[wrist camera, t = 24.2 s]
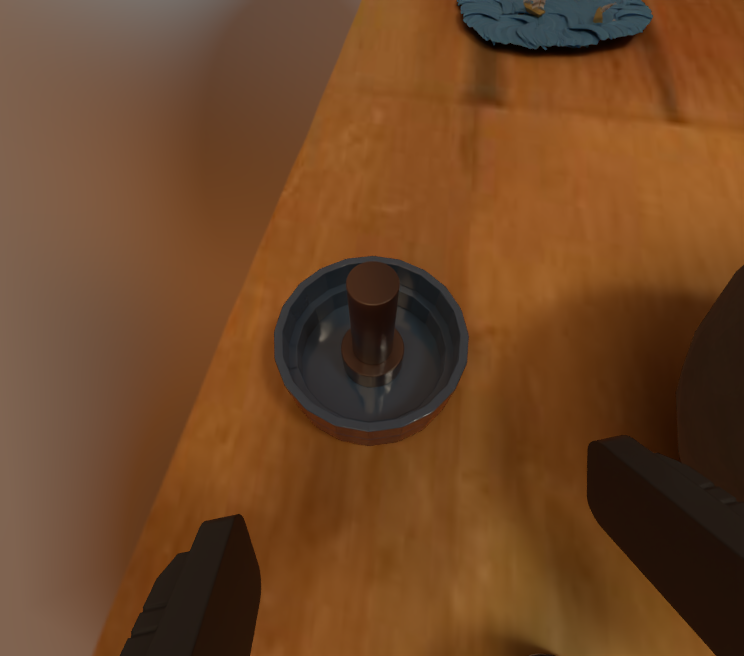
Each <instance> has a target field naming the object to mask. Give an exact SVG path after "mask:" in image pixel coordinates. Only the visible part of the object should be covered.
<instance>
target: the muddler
mask: <svg viewBox="0 0 744 656" xmlns="http://www.w3.org/2000/svg"><path fill="white" fill-rule="evenodd" d="M399 287H400V281H399V277H398V275H397V273H396V272H395V271H394V269H392V268H391V267H390V266H388V265H387V264H384V263H381V262H376V261H369V262H364V263H361V264H359V265H357V266H356V267H354V268H353V269H352V270H351V272H350V273H349V275H348V277H347V280H346V289H347V299H348V308H349V317H350V327H351V328H350V329H349V330H348V331H347V332H346V334H345V335H344V337H343V340H342V343H341V353H342V359H343V364H344V368H345V371H346V373H347V374H348V376H349V377H350V378H351V379H352V380H353V381H354V382H356V383H357V384H359V385H362V386H365V387H380V386H383V385H386V384H388V383H389V382H391V381H392V380H393V379H394V378H395V377H396V376H397V375H398V373H399V371H400V369H401V365H402V360H403V355H404V342H403V339H402V337H401V335H400V333H399V332H398V331H397V330H396V329H395V322H396V313H397V305H398V296H399Z"/></svg>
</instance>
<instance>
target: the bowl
mask: <svg viewBox="0 0 744 656" xmlns="http://www.w3.org/2000/svg"><path fill="white" fill-rule="evenodd" d="M369 261H376V262H381V263H384V264H387V265H388V266H390V267H391V268H392V269H394V271H395V272H396V273H397V275H398V277H399V281H400V287H399V296H398V305H397V313H396V322H395V329H396V330H397V331H398V332H399V333H400V335H401V337H402V339H403V342H404V355H403V360H402V365H401V369H400V371H399V373H398V375H397V376H396V377H395V378H394V379H393V380H392V381H391V382H389V383H388V384H386V385H383V386H380V387H365V386H362V385H359V384H357V383H356V382H354V381H353V380H352V379H351V378H350V377H349V376H348V374H347V373H346V371H345V368H344V364H343V359H342V353H341V343H342V340H343V337H344V335H345V334H346V332H347V331H348V330H349V329H350V328H351V327H350V317H349V308H348V299H347V289H346V280H347V277H348V275H349V273H350V272H351V270H352V269H353V268H354V267H356V266H357V265H359V264H361V263H364V262H369ZM468 340H469V336H468V331H467V328H466V324H465V321H464V317H463V314H462V310H461V308H460V307H459V305H458V304H457V302H456V301H455V300H454V298H453V297H452V295H451V294H450V292H449V291H448V289H447V288H446V287H445V286H444V285H443V284H442V283H440V282H439V281H438V280H436V279H435V278H434V277H433V276H431V275H430V274H429V273H428V272H426V271H425V270H423V269H420V268H418V267H416V266H413V265H411V264H409V263H406V262H404V261H402V260H398V259H391V258H384V257H377V256H368V257H359V258H349V259H345V260H342V261H339V262H337V263H334V264H331V265H329V266H326V267H324V268H321V269H319V270H318V271H317V272H315V273H314V274H313V275H311V276H310V277H308V278H307V279H306V280H304V281H303V282H302V283H300V284H299V285H298V287H297V288H296V289H295V291H294V292H293V293H292V295H291V296H290V297H289V299H288V300H287V301H286V302H285V304H284V305H283V307H282V310H281V313H280V316H279V319H278V322H277V325H276V328H275V332H274V354H275V362H276V364H277V367H278V369H279V372H280V375H281V377H282V380H283V382H284V385H285V387H286V388H287V390H288V392H289V393H290V395H291V396H292V398H293V400H294V401H295V403H296V404H297V406H298V407H299V408H300V410H301V411H302V412H303V413H304V414H305V415H306V416H307V418H308V419H309V420H310V421H311V422H312V423H313V424H314V425H315V426H316V427H317V428H319V429H321V430H322V431H324V432H326V433H328V434H330V435H331V436H333V437H335V438H337V439H338V440H341V441H345V442H351V443H356V444H361V445H367V446H373V445H380V444H387V443H394V442H398V441H401V440H403V439H405V438H407V437H409V436H411V435H413V434H415V433H417V432H419V431H421V430H423V429H424V428H425V427H426V426H427V425H428V424H429V423H430V422H431V421H432V420H433V419H434V418H435V417H436V416H437V415H438V414H439V413H440V412H441V411H442V410H443V408H444V407H445V405H446V403H447V402H448V400H449V399H450V397H451V395H452V394H453V392H454V390H455V389H456V386H457V384H458V382H459V380H460V377H461V375H462V373H463V371H464V369H465V366H466V363H467V354H468Z"/></svg>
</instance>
